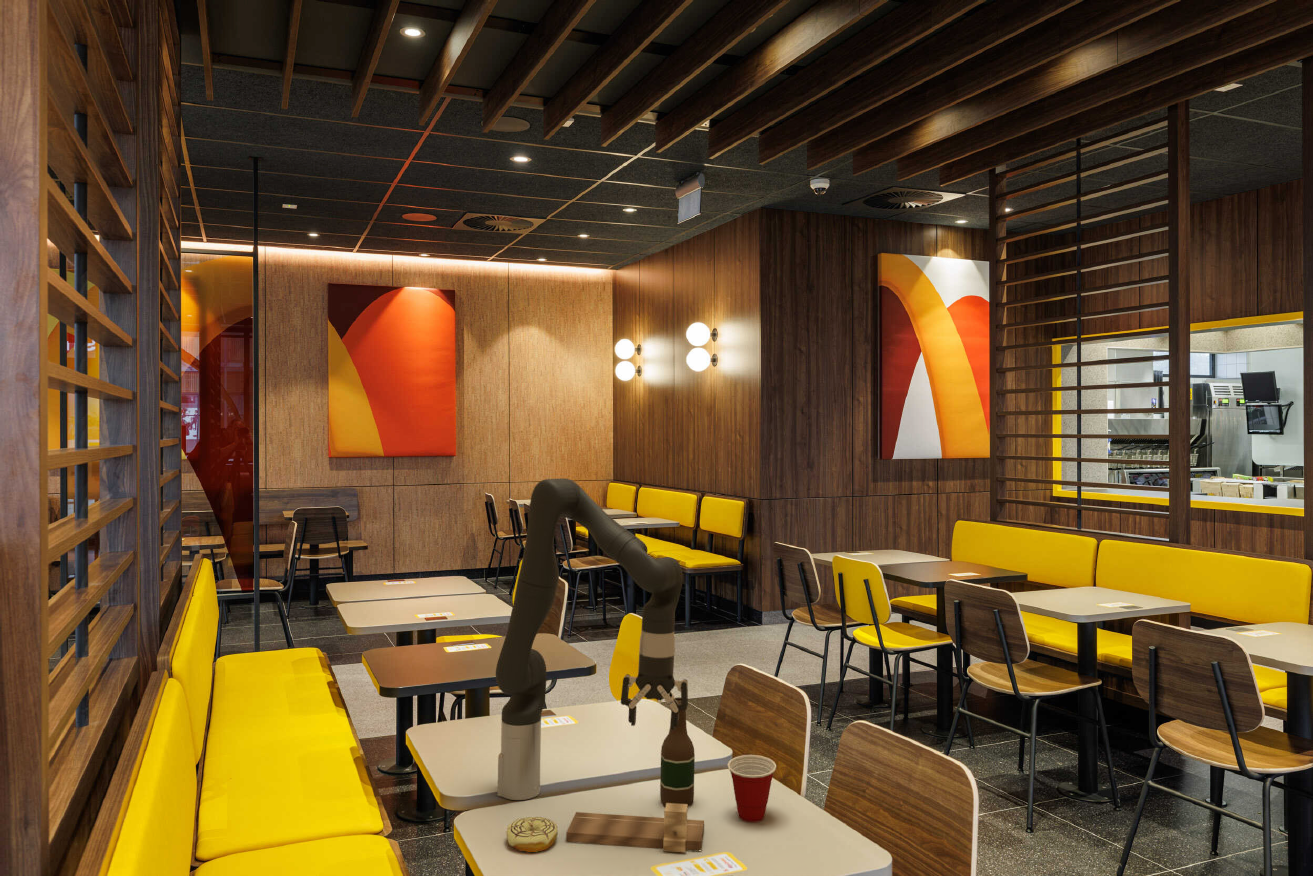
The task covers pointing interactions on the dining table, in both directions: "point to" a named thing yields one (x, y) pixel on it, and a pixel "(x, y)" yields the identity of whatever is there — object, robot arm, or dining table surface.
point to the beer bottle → (677, 764)
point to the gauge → (675, 827)
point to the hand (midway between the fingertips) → (653, 726)
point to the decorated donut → (532, 834)
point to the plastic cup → (751, 785)
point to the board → (628, 830)
